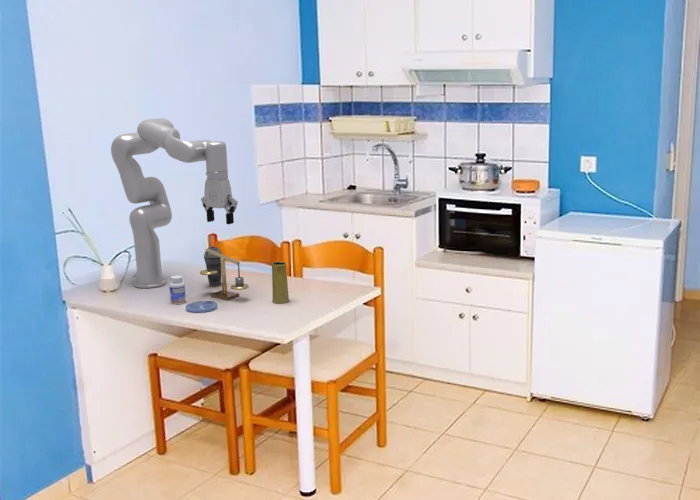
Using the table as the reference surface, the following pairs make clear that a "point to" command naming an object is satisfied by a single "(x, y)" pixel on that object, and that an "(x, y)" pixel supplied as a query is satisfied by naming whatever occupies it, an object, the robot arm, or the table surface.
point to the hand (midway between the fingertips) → (220, 222)
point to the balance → (238, 280)
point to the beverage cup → (213, 266)
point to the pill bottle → (177, 290)
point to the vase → (279, 283)
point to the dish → (201, 306)
